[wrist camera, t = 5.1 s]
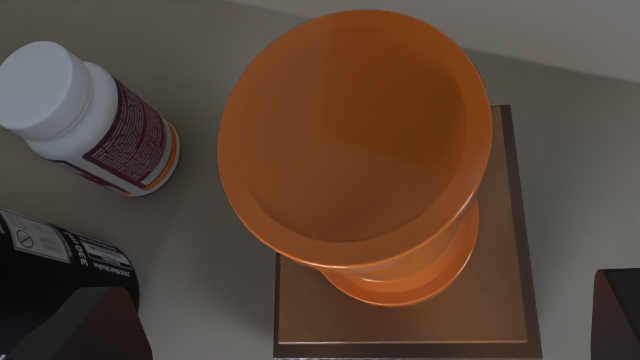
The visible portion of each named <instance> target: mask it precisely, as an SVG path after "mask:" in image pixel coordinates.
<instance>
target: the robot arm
mask: <svg viewBox="0 0 640 360" xmlns="http://www.w3.org/2000/svg"><path fill="white" fill-rule="evenodd" d="M5 360H153V356H152V350H151V347H150V344H149V342H148V339H147V337H146V334H145V332H144V329H143V327H142V324H141V322H140V319H139V317H138V314H137V312H136V309H135V307H134V304H133V302H132V299H131V297H130V295H129V293H128V292H127V290H126V289H124V288H123V287H120V286H113V287H87V288H80V289H78V290H77V291H75V292H74V293H73V294H72V295H71V296H70V297H69V299H68V300H67V301H66V302H65V303H64V304H63V305H62V306H61V307H60V308H59V310H58V311H57V312H56V313H55V314H54V315H53V316H52V317H51V318H50V319H49V320H47V321H46V322H45V323H43V324H42V325H40V326H39V327H38V328H36V329H35V330H33V331H32V332H31V333H29V334H28V335H26V336H25V337H24V338H23V339H22V341H21V342H20V343H19V344H18V345H17V346H16V347H15V348H14V349H13V350H12V351H11V352H10V353H9V354H8V356H7V357H6V358H5ZM591 360H640V268H627V269H600V270H597V272H596V275H595V280H594V295H593V312H592V329H591Z"/></svg>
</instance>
